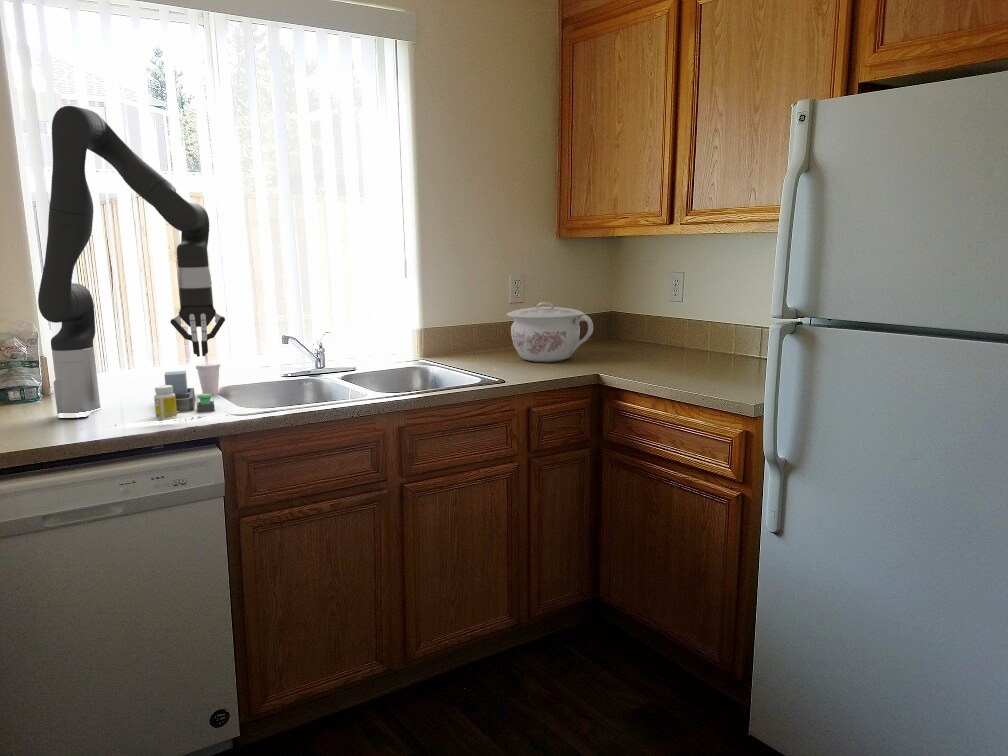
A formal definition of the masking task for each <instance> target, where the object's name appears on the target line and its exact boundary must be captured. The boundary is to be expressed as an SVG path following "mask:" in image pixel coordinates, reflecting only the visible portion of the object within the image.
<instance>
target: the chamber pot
mask: <svg viewBox="0 0 1008 756" xmlns="http://www.w3.org/2000/svg"><path fill="white" fill-rule="evenodd" d="M506 316H507V317H509V318H510V317H511V318H512V319H513V322H512V324H511V326H510V335H511V339H512V345H513V347H514V348H515V350H516V352H517V354H518V355H519V356H520V357H521V359H524V360H526V361H528V362H532V361H533V363H557V362H556V361H558V362H561V361H564V360H567V359H569V358H570V357H571V356H572V355H573V354H574V353H575V351H576V350H577V349H578V348H579V347H580V345H582V344H583V343H584V342H586V341H588V340H589V339H590V337H591V336H592V334H593V332H594V323H593V320H592V319H591V317H590V316H589V315H587V314H585V313H584V312H583V311H581V310H578V309H573V308H568V307H567V308H566V307H559V306H554V304H553V303H551V302H548V301H541V302H539V303H537V304H536V305H535V307H526V308H521V309H516V310H512V311H508V312H507V313H506ZM580 322H586V323H587V331H586V333H585V336H583V338H582V339H580V336H581V335H580V334H581V331H580V330H581V326H580Z"/></svg>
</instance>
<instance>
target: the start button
mask: <svg viewBox="0 0 1008 756" xmlns="http://www.w3.org/2000/svg"><path fill="white" fill-rule="evenodd" d="M212 397H213V395H212V394H203V393H201V394H198V395H197V398H198V399H199V402H200V405H201V404H211V402H210V401H211V398H212Z"/></svg>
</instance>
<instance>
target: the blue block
mask: <svg viewBox="0 0 1008 756" xmlns="http://www.w3.org/2000/svg"><path fill="white" fill-rule="evenodd" d="M164 384H165V385H172V386H173V392H172V393H174V394H179V393H188V388H189V387H188V378H187V370H177V371H166V372H164Z"/></svg>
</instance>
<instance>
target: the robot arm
mask: <svg viewBox="0 0 1008 756" xmlns="http://www.w3.org/2000/svg"><path fill="white" fill-rule="evenodd" d="M51 148H52V170H51V171H52V172H51V187H50V199H49V208H48V209H49V210H48V221H47V222H48V223H47V237H46V238H47V239H46V247H45V255H44V256H45V257H44V265H43V270H42V274H41V275H42V276H41V279H40V285H39V290H38V297H37V304H38V305H37V306H38V310H39V313H40V314H41V316H42V317H43V318H44V319H45V320H46V321H48V322H50V323H52V324H53V323H61V327H60V330H59V331H58V332H57V334H55V335H54V336H52V338H51V339H50V349H51V354H52V355H51V357H52V362H53V363H52V364H53V365H52V366H53V373H54V381H53V389H54V398H55V405H56V414H59V413H79V412H86V411H91V410H95V409H98V408H101V400H100V391H99V384H98V375H97V364H96V355H95V348H94V339H95V336H96V318H95V314H96V313H95V304H94V300H93V299H94V298H93V296H92V293H91V291H89V289H88V287H86V286H85V285H84V284H80V283H75V282H72V280H73V274H74V269H75V266H76V264H77V261H78V259H79V258H80V256H81V255H82V253H83V252H84V249H85V248H86V246H87V244H88V243H89V241H90V239H91V235H92V231H93V222H94V202H93V198H92V195H91V190H90V188H89V185H88V181H87V176H86V160H87V159H86V158H87V157H86V156H87V150H89V151H90V152H92V153H94V154H95V155H97V156H99V157H101V158H102V159H103V160H105V161H106V162H107V163H108V164H110V165H111V166H112V167H113V168H114V169H115V171H117V173H118V174H119V175H120V176H121V178H122V180H123V181H124V182H125V183H126V185H127V186H129V188H130V189H132V190H133V191H134V192H135V193H136V194H137V195H138V196H139V197H141V198H142V199H143V200H144V201H145V202H147V203H148V204H149V205H151V206H152V207H153V208H154V209H155V210H156V211H157V213H158V214H159V215H160V216H161V217H162V218H163V219H164V220H165V222H167V223H168V224H169V225H170V226H171V227H173V228H174V229H176V230H177V231H179V232H181V233H180V234H181V235H180V236H181V238H180V240H181V241H180V243H179V244H178V245H177V247H176V260H177V285H178V295H179V304H180V309H179V310H178V315H176V316H175V317H174V318H171V319H170V321H169V322H170V324H171V325H172V326H173V328H174V329H176V331H177V332H178V333H179V334H180V335H181V336H182V338H183V339H184V340H186V341H187V340H188V341H191V343H192V351H193V354H194V355H196V357H197V358H198V357H200V356H201V355H202V357H205V354H207V355H208V352H209V346H208V341H209V340H210V339H214V338H215V337H216V335H217V333H218V332H219V330H220V328H221V327H222V326H223V324H224V323H225V321H226V318H225V316H223V315H222V316H221V315H220V314H218V313H217V312H216V309H215V307H214V299H213V298H214V297H213V288H212V284H213V282H212V278H211V277H212V275H211V273H210V268H209V265H210V264H209V255H208V254H209V253H208V243H209V238H210V237H209V236H210V220H209V219H210V218H209V214H208V212H207V210H206V209H205V208H204V207H203V206H202V205H200V204H199V203H196V202H189V201H187V200H186V199H185V198H183V197H182V196H181V195H180V194H179V193H178V192H177V189H176V187H175V186H174V185H173V184H172V183H171V182H170V181H169V180H168V179H166V178H165V177H164V176H163V175H162V174H160V173H159V172H158V171H156V169H154V168H153V167H152V166H150V164H149V163H147V162H146V161H144V159H142V158H141V157H140V156H139V155H138V154H137V153H135V152H134V151H133V150H132V149H131V148H130V147H129V146H128V145H127V143H125V142H124V140H123V139H121V137H119V135H118V134H117V133H116V132H115V131H114V129H113V128H112V127H111V126H110V125H109V124H108V122H106V121H105V120H104V119H103V118H102V116H101V115H99V114H98V113H97V112H95V111H93V110H91V109H88V108H83V107H80V106H74V105H64V106H62V107H59V109H58V110H57V111H56V112H55V113H54V115H53V118H52V122H51ZM214 318H215V319H214ZM181 319H182V320H181ZM213 319H214V322H215V325H214V327H213V328H212V329H211V330H210V332H209V333H208V328H207V327H208V326H209V325H210V324H211V322H212V320H213ZM182 321H183V322H184V323H185V324H186V325H187V326H188V327H189V328H190V334H189V333H188V332H187V330H186V329H185V328H184V327H183V326H182ZM198 327H199V328H201V329H200V330H201V341H199V338H198V330H197V329H198ZM200 342H201V343H200ZM200 344H201V352H200Z"/></svg>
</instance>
